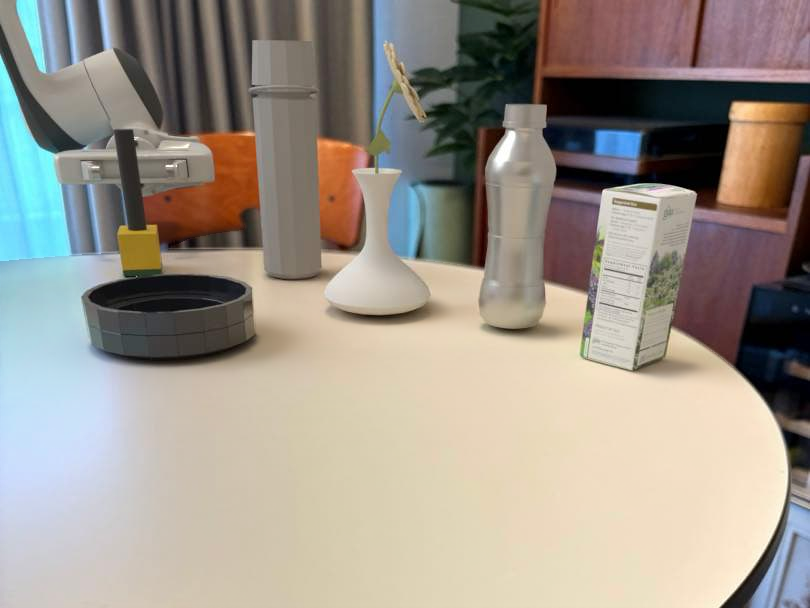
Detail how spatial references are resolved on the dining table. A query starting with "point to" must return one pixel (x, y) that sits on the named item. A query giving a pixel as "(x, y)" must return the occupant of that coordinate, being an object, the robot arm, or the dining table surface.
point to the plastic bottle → (517, 220)
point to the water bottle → (287, 156)
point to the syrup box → (636, 273)
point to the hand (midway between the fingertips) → (133, 173)
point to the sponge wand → (135, 215)
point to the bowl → (169, 315)
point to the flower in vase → (380, 231)
